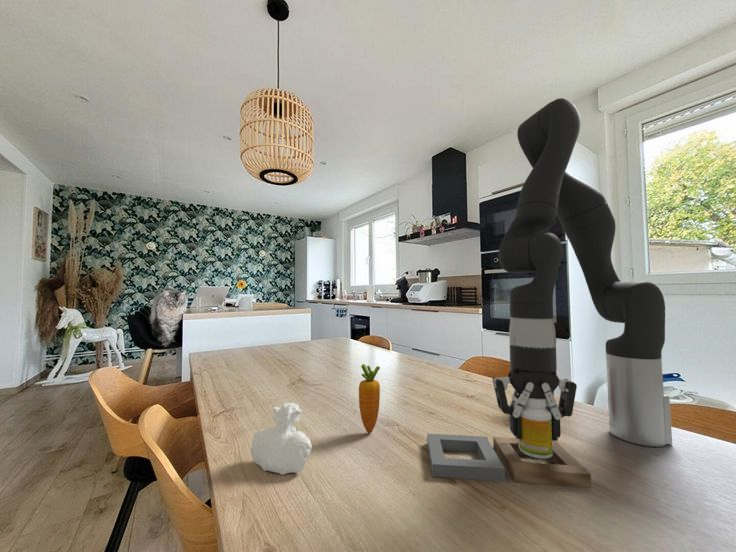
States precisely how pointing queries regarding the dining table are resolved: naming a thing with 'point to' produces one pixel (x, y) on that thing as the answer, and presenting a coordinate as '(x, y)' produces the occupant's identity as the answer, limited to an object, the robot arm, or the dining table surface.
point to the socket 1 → (464, 468)
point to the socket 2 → (541, 465)
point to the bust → (282, 443)
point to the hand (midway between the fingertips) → (534, 437)
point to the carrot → (369, 398)
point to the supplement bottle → (536, 429)
